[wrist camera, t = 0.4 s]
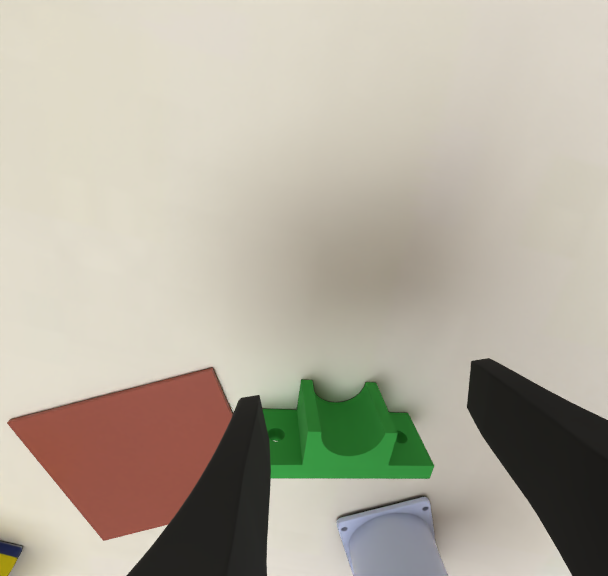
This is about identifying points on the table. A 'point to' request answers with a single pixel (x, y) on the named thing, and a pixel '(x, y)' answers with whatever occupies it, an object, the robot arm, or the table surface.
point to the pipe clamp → (345, 439)
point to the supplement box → (8, 557)
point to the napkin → (131, 449)
